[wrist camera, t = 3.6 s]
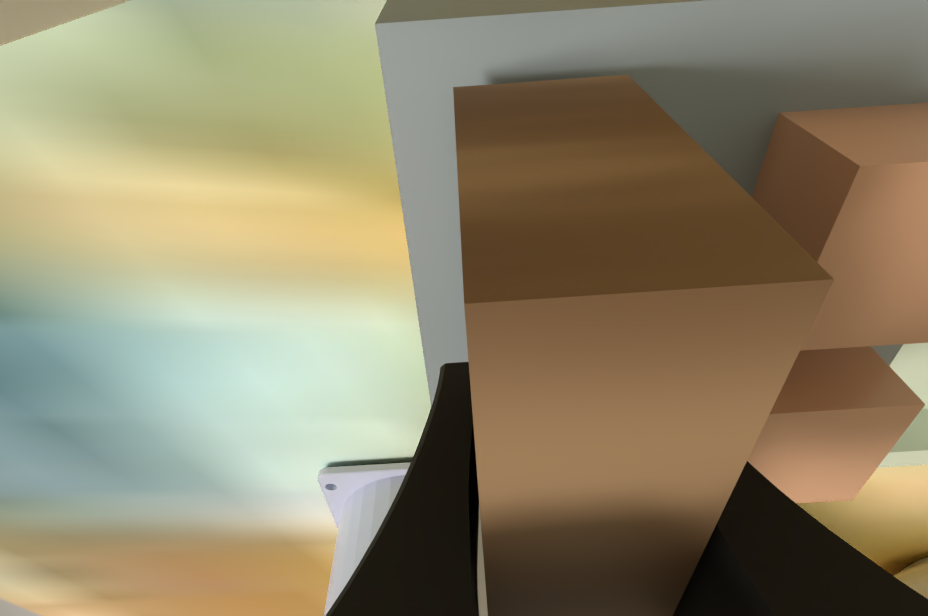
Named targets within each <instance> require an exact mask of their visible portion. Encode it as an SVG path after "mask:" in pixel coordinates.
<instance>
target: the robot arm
mask: <svg viewBox="0 0 928 616" xmlns="http://www.w3.org/2000/svg"><path fill="white" fill-rule="evenodd" d="M318 482H319V485H320V487H321V490H322V492H323V495H324V497H325V499H326V502H327V504H328V507H329V509H330V511H331V514H332V516H333V519H334V521H335V524H336V526H337V528H338V533H337V540H336V546H335V552H334V558H333V564H332V570H331V576H330V582H329V588H328V594H327V600H326V607H325V613H324V616H488V611H487V598H486V585H485V571H484V558H483V545H482V532H481V519H480V506H479V493H478V479H477V466H476V453H475V440H474V427H473V414H472V401H471V387H470V374H469V362H457V363H445V364H444V365H443V366H441V367H440V374H439V380H438V385H437V389H436V393H435V397H434V400H433V404H432V407H431V410H430V413H429V417H428V419H427V422H426V425H425V428H424V430H423V433H422V436H421V439H420V441H419V444H418V447H417V449H416V452H415V454H414V457H413V459H412V461H411V462H407V463H390V464H374V465H357V466H341V467H327V468H323V469H321V470H320V471H319V474H318ZM673 616H928V599H927V598H926V597H924V596H923V595H921V594H919V593H918V592H916V591H915V590H913V589H912V588H910V587H909V586H907V585H906V584H904V583H903V582H901V581H900V580H898V579H897V578H895V577H894V576H892V575H891V574H890V573H888V572H887V571H885V570H884V569H882V568H881V567H880V566H878V565H877V564H875V563H874V562H873V561H871V560H870V559H869V558H867V557H866V556H864V555H863V554H862V553H860V552H859V551H858V550H856V549H855V548H853V547H852V546H851V545H849V544H848V543H847V542H845V541H844V540H842V539H841V538H840V537H838V536H837V535H835V534H834V533H833V532H831V531H830V530H829V529H827V528H826V527H825V526H824V525H822V524H821V523H820V522H818V521H817V520H816V519H815V518H813V517H812V516H811V515H810V514H808V513H807V512H806V511H805V510H803V509H802V508H801V507H800V506H798V505H797V504H796V503H795V502H794V501H792V500H791V499H790V498H789V497H788V496H786V495H785V494H784V493H783V492H782V491H780V490H779V489H778V488H777V487H776V486H775V485H774V484H772V483H771V482H770V481H769V480H768V479H767V478H766V477H764V476H763V475H762V474H761V473H760V472H759V471H758V470H757V469H756V468H754V467H753V466H752V465H751V464H750V463H749V462H748V461H747V462H746V464H745V466H744V468H743V470H742V472H741V474H740V476H739V479H738V481H737V483H736V485H735V487H734V489H733V491H732V493H731V495H730V497H729V499H728V501H727V503H726V506H725V508H724V510H723V512H722V514H721V516H720V518H719V520H718V522H717V524H716V526H715V528H714V531H713V533H712V535H711V537H710V539H709V541H708V543H707V545H706V547H705V549H704V551H703V553H702V556H701V558H700V560H699V562H698V564H697V566H696V568H695V570H694V572H693V574H692V576H691V578H690V580H689V583H688V585H687V587H686V589H685V591H684V593H683V595H682V597H681V599H680V601H679V603H678V605H677V608H676V610H675V612H674V614H673Z"/></svg>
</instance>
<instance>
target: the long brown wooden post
mask: <svg viewBox="0 0 928 616" xmlns="http://www.w3.org/2000/svg"><path fill="white" fill-rule="evenodd" d="M453 95H454V115H455V134H456V154H457V174H458V193H459V213H460V232H461V252H462V272H463V291H464V309H465V322H466V335H467V348H468V361H469V374H470V387H471V401H472V414H473V427H474V440H475V453H476V466H477V479H478V493H479V506H480V519H481V532H482V545H483V558H484V571H485V585H486V598H487V611H488V616H673V614H674V612H675V610H676V608H677V605H678V603H679V601H680V599H681V597H682V595H683V593H684V591H685V589H686V587H687V585H688V583H689V580H690V578H691V576H692V574H693V572H694V570H695V568H696V566H697V564H698V562H699V560H700V558H701V556H702V553H703V551H704V549H705V547H706V545H707V543H708V541H709V539H710V537H711V535H712V533H713V531H714V528H715V526H716V524H717V522H718V520H719V518H720V516H721V514H722V512H723V510H724V508H725V506H726V503H727V501H728V499H729V497H730V495H731V493H732V491H733V489H734V487H735V485H736V483H737V481H738V479H739V476H740V474H741V472H742V470H743V468H744V466H745V464H746V462H747V460H748V458H749V456H750V454H751V451H752V449H753V447H754V445H755V443H756V441H757V439H758V437H759V435H760V433H761V431H762V429H763V427H764V424H765V422H766V420H767V418H768V416H769V414H770V412H771V410H772V408H773V406H774V404H775V402H776V399H777V397H778V395H779V393H780V391H781V389H782V387H783V385H784V383H785V381H786V379H787V377H788V374H789V372H790V370H791V368H792V366H793V364H794V362H795V360H796V358H797V356H798V354H799V352H800V350H801V347H802V345H803V343H804V341H805V339H806V337H807V335H808V333H809V331H810V329H811V327H812V325H813V322H814V320H815V318H816V316H817V314H818V312H819V310H820V308H821V306H822V304H823V302H824V300H825V297H826V295H827V293H828V291H829V289H830V287H831V285H832V283H833V281H834V279H833V278H832V277H831V276H830V275H829V274H828V273H827V272H826V271H825V270H824V269H823V268H822V267H821V266H820V265H819V264H818V263H817V262H816V261H815V260H814V259H813V258H812V257H811V256H810V255H809V254H808V253H807V252H806V251H805V250H804V249H803V248H802V247H801V246H800V245H799V244H798V243H797V242H796V241H795V240H794V239H793V238H792V237H791V236H790V235H789V234H788V233H787V232H786V231H785V230H784V229H783V228H782V227H781V226H780V225H779V224H778V223H777V222H776V221H775V220H774V219H773V218H772V217H771V216H770V215H769V214H768V213H767V212H766V211H765V210H764V209H763V208H762V207H761V206H760V205H759V204H758V203H757V202H756V201H755V200H754V199H753V198H752V197H751V196H750V195H749V194H748V193H747V192H746V191H745V190H744V189H743V188H742V187H741V186H740V185H739V184H738V183H737V182H736V181H735V180H734V179H733V178H732V177H731V176H730V175H729V174H728V173H727V172H726V171H725V170H724V169H723V168H722V167H721V166H720V165H719V164H718V163H717V162H716V161H714V160H713V159H712V158H711V157H710V156H709V155H708V154H707V153H706V152H705V151H704V150H703V149H702V148H701V147H700V146H699V145H698V144H697V143H696V142H695V141H694V140H693V139H692V138H691V137H690V136H689V135H688V134H687V133H686V132H685V131H684V130H683V129H682V128H681V127H680V126H679V125H678V124H677V123H676V122H675V121H674V120H673V119H672V118H671V117H670V116H669V115H668V114H667V113H666V112H665V111H664V110H663V109H662V108H661V107H660V106H659V105H658V104H657V103H656V102H655V101H654V100H653V99H652V98H651V97H650V96H649V95H648V94H647V93H646V92H645V91H644V90H643V89H642V88H641V87H640V86H639V85H638V84H637V83H636V82H635V81H634V80H633V79H632V78H631V77H630V76H629V75H615V76H601V77H587V78H573V79H560V80H546V81H532V82H518V83H504V84H490V85H476V86H462V87H453Z"/></svg>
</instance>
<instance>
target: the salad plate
mask: <svg viewBox="0 0 928 616" xmlns="http://www.w3.org/2000/svg"><path fill="white" fill-rule="evenodd" d="M893 576H894V577H895V578H897V579H898V580H900V581H901V582H903V583H904V584H906V585H907V586H909V587H910V588H912V589H913V590H915V591H916V592H918V593H919V594H921V595H923V596H924V597H926V598H927V599H928V557H926V558H923V559H921V560H919V561H916V562H914V563H913V564H911V565H909V566H907V567H905V568H904V569H903V570H902V571H901V572H899V573H897V574H895V575H893Z"/></svg>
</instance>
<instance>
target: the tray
mask: <svg viewBox="0 0 928 616" xmlns="http://www.w3.org/2000/svg"><path fill="white" fill-rule="evenodd" d="M890 367H891V368H892V369H893V371H894V372H895V373H896V374H897V375H898V376H899V377H900V378H901V379H902V380H903V381H904V382H905V383H906V384H907V385H908V386H909V388H910V389H911V390H912V391H913V392H914V393H915V394H916V395H917V396H918V397H919V398H920V399H921V400H922V401H923V402H924V404H925V406H924V407H923V408H922V410H921V411H920V412H919V414H918V415H917V416H916V418H915V419H914V420H913V421H912V423H911V424H910V425H909V427H908V428H907V429H906V431H905V432H904V433H903V435H902V436H901V437H900V439H899V440H898V441H897V442H896V444H895V445H894V446H893V448H892V449H891V450H890V452H889V453H888V454H887V456H886V457H885V458H884V459H883V461H882V462H881V463H880V465H879V466H878V467H877V468H882V467H898V466H915V465H928V343H914V344H903V346H902V347H901V349H900V350H899V352H898V353H897V355H896V357H895V358H894V360H893V361H892V363H891V364H890Z"/></svg>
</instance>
